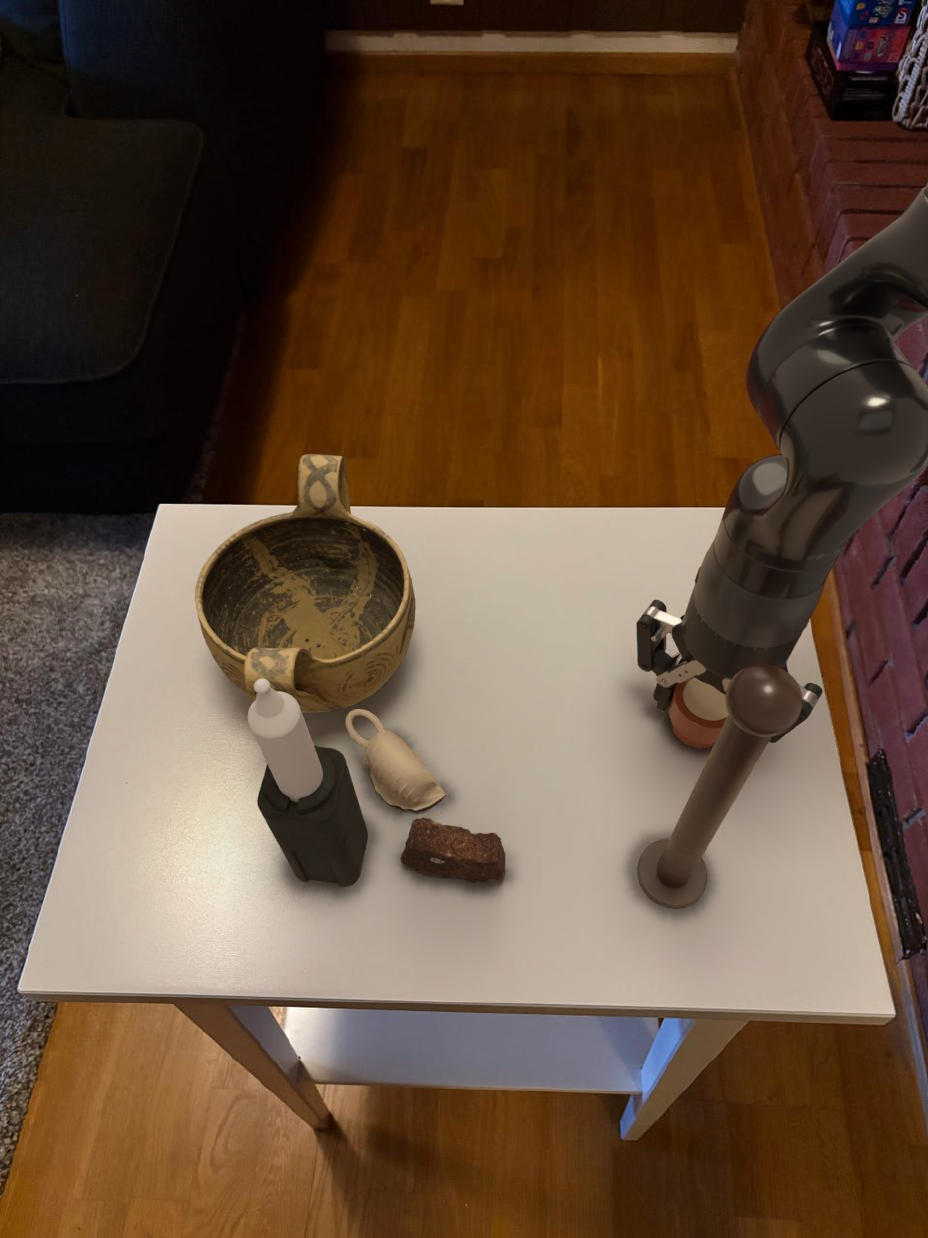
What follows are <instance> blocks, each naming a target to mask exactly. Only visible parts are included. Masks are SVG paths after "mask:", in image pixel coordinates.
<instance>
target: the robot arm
mask: <svg viewBox="0 0 928 1238" xmlns="http://www.w3.org/2000/svg"><path fill="white" fill-rule="evenodd" d="M926 317H928V181H927V182H926V183H925V186H924V187H923V188H921V189H920V191H919V192H918V193H917V194H916V196H915V197H914V198H913V199H912V201H911V202H910V203H909V205H908V206H907V207H906V208H905V210H904V211H903V212H902V213H901V214H900V215H899V216H897V217H896V218H895V219H894V220H892V222H890V223H889V224H888V225H886V226H885V227H884V228H882V229H881V230H880V231H879V232H877V233H876V234H875V235H873V236H872V237H871V238H869V239H868V240H866V241H865V242H864V243H863V244H861V245H860V246H859V247H857V248H856V249H855V250H853V251H852V252H851V253H849V255H847V256H846V257H845V258H844V259H843V260H842V261H840V262H839V263H838V264H837V265H835V266H834V267H833V268H832V269H830V270H829V271H828V272H826V273H825V274H824V275H823V276H821V277H820V278H819V279H817V280H816V281H815V282H814V283H812V284H811V285H810V286H809V287H807V288H806V289H805V290H804V291H802V292H801V293H800V294H799V295H797V296H796V297H795V298H793V299H792V300H791V301H790V302H789V303H788V304H786V306H784V307H783V308H782V309H781V310H780V311H779V312H778V313H777V314H776V315H775V316H774V317H773V318H772V320H771V321H770V322H769V323H768V324H767V326H766V327H765V329H764V330H763V331H762V333H761V334H760V337H759V338H758V340H757V341H756V343H755V345H754V348H753V350H752V352H751V355H750V357H749V361H748V364H747V367H746V373H745V389H746V393H747V396H748V399H749V401H750V404H751V406H752V407H753V409H754V411H755V413H756V414H757V416H758V418H759V420H760V421H761V424H763V426H764V428H765V429H766V431H767V433H768V435H769V436H770V438H771V441H772V442H773V443H774V445H775V447H776V449H777V450H778V452H779V453H777V454H772V455H768V456H765V457H762V458H760V459H758V460H756V461H755V462H753V463H752V464H751V465H749V466H748V467H747V468H746V469H745V470H744V471H743V472H742V473H741V474H740V476H738V478H737V480H736V481H735V484H734V486H733V488H732V490H731V492H730V495H729V496H728V499H727V501H726V505H725V508H724V511H723V514H722V517H721V520H720V523H719V525H718V528H717V530H716V533H715V537H714V539H713V540H712V542H711V544H710V546H709V547H708V549H707V551H706V553H705V555H704V557H703V559H702V562H701V565H700V566H699V567H698V570H697V572H696V575H695V579H694V586H693V589H692V592H691V595H690V597H689V600H688V604H687V606H686V610H685V612H684V614H683V615H681V616H680V617H678V616H676V615H674V614H671V613H668V612H667V611H668V609H667V605H666V604H665V603H664V602H663V601H661V600H660V599H654V600H652V601H651V603H650V604H649V606H647V608H646V609H645V610H644V612H643V613H642V614H641V616H640V617H639V618H638V620H637V621H636V625H635V628H636V657H637V659H636V660H637V666H638V668H639V669H640V670H642V671H643V672H646V673H650V672H652V673H654V674H655V676H656V678H655V681H656V684H655V689H654V691H653V693H652V697H653V700H654V701H655V702H657V706H656V709H658V710H660V711H661V712H663V713H665V712H666V711H667V710H668V709H669V702H670V699H671V697H672V694H673V691H674V688H675V686H676V683H677V682H678V683H679V684H681V683H683V682H685V681H687V680H688V679H690V678H692V677H694V678H696V679H698V680H700V681H701V682H704V683H706V684H709V685H711V686H713V687H714V688H716V689H717V690H718V691H720V692H721V693H723V694H724V695H726V691H727V688H728V685H729V683H730V681H731V680H732V678H733V677H734V676H735V675H736V674H737V673H738V672H739V671H741V670H742V669H744V668H746V667H748V666H751V665H755V664H770V665H775V666H777V667H780V668H782V669H784V670H785V671H787V672H788V673H789V669H788V665H787V661H788V660H789V658H790V656H791V654H792V653H793V651H794V649H795V647H796V645H797V643H798V642H799V640H800V638H801V636H802V634H803V632H804V631H805V630H806V628H807V627H808V625H809V622H810V620H811V618H812V616H813V614H814V612H815V611H816V609H817V607H818V604H819V603H820V600H821V598H822V595H823V592H824V589H825V585H826V582H827V579H828V577H829V575H830V573H831V571H832V570H833V567H834V566H835V564H836V562H837V560H838V558H839V556H840V554H841V552H842V551H843V549H844V547H845V545H846V543H847V541H849V539H850V538H851V537H852V536H854V535H855V533H856V532H858V531H859V530H860V529H861V528H862V527H863V526H864V525H866V524H867V523H868V522H869V521H870V520H871V519H872V518H873V517H874V516H875V515H876V514H877V513H878V512H879V511H880V510H881V509H882V508H883V507H884V506H886V505H887V504H888V503H890V502H891V500H893V499H894V498H896V496H898V495H899V494H900V493H901V492H903V491H904V490H905V489H907V488H908V487H909V486H910V485H911V484H913V482H915V481H916V479H918V478H919V477H920V475H921V474H923V472H924V471H925V470H926V468H927V467H928V384H927V382H925V380H924V379H923V377H921V375H920V374H919V372H917V370H916V369H915V368H914V366H913V365H912V363H911V362H910V361H909V360H908V359H907V357H906V356H905V354H904V353H903V352H902V350H901V349H900V348H899V347H898V345H897V344H896V343H895V342H896V341H897V340H898V339H899V337H900V336H901V335H902V334H903V333H904V332H905V331H906V330H907V329H909V328H910V327H911V326H914V325H915V324H916V323H918V322H919V321H921V320H922V319H923V320H924V318H926ZM668 634H671V638H672V641H673V642H674V644H675V646H676V648H677V650H678V652H676V653H675V654H673V655H672V656H671V655H670V654H669V653H668V652H666V650H667V636H668ZM798 685H799V687H800V690H801V693H802V709H801V713H800V715H799V717H798V719H797V721H796V722H795V723H794V725H793V726H792V727H791V728H789V729H788V730H787V731H785V732H783V733H781V734H778V735H776V736H772V738H771V739H770V741H769V744H776V743H777V742H779V741H780V740H781V739H783V738H784V737H785V736H786V735H788V734H789V733H790V732H792V731H793V730H794V729H796V728H797V727H798V726H800V725H801V724H802V723H803V722H805V721H806V720H807V719H808V718H809V717H810V715H811V713H812V712H813V710H814V709H815V707H816V705H817V704H818V701H819V699H820V698H821V696H822V694H823V693H824V691H823V688H822V687H821V686H819V685H818V684H817V683H814V682H807V683H805V685H801V684H799V683H798Z"/></svg>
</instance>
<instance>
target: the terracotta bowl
mask: <svg viewBox="0 0 928 1238" xmlns="http://www.w3.org/2000/svg"><path fill="white" fill-rule="evenodd" d="M725 700H726V695H724V694H723V693H721V692H720V691H718V690H717V689H716V688H714V687H713V686H711V685H709V684H706V683H704V682H701V681H700V680H698V679H696V678H694V677H692V678H690V679H688V680H687V681H685V682H683V683H681V684H679V683H678V682H677V683H676V686H675V688H674V691H673V694H672V697H671V699H670V702H669V706H668V708H667V710H668V716H669V719H670V722H671V724H670V725H671V729H672V732H673V733H674V735H675V736H676V738H677V739H678V740H679V741H680V742H682V743H683V744H685V745H687V746H689V747H690V748H691V747H692V748H696V749H706V748H710V747H713V746H714V744H715V742H716V740H717V738H718V735H719V733H720V731H721V729H722V727H723V725H724V723H725V721H726V719H727V716H728V711H727V708H726V702H725Z"/></svg>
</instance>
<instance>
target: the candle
mask: <svg viewBox="0 0 928 1238" xmlns="http://www.w3.org/2000/svg"><path fill="white" fill-rule="evenodd" d="M254 690H255V691H256V692H257V696H256V700H254V701H253V702H252V703H251V705H250V707H249V708H248V713H247V724H248V726H249V728H250V731H251V732H252V735H253V736H254V739H255V741H256V743H257V745H258V747H259V749H260V752H261V754H262V755H263V758H264V759H265V762H266V768H265V771H264V774H263V777H262V780H261V784H260V788H259V790H258V793H257V799H256V804H257V807H258V810H259V811H260V813H261V815H262V817H263V819H264V821H265V822H266V824H267V827H268V828H269V830H270V832H271V834H272V835H273V837H274V839H275V841H276V842H277V844H278V846H279V848H280V850H281V852H282V854H283V855H284V857H285V859H286V861H287V862H288V864H289V867H290V868H291V870H292V873H294V875H295V877H296V878H297V879H298V880H300V881H301V882H304V883H308V882H309V881H315V882H321V883H322V882H323V883H329V884H330V883H331V884H337V885H338V886H339V887H342V888H345V887H350V886H352V885H353V884H355V883H356V882H357V881H358V879H359V878H360V876H361V872H362V867H363V862H364V858H365V852H366V850H367V849H366V848H367V844H368V838H369V832H368V829H367V825H366V822H365V818H364V815H363V811H362V808H361V806H360V802H359V798H358V796H357V793H356V788H355V786H354V782H353V780H352V779H353V778H352V776H351V772H350V769H349V766H348V762H347V760H346V758H345V755H344V754H343V752H341V751H340V750H339V749H336V748H332V747H326V746H318V745H315V744H314V742H313V739H312V736H311V734H310V731H309V729H308V726H307V723H306V720H305V717H304V715H303V712H301V709H300V706H299V704H298V702H297V701H296V700H295V699H294V698H293V697H292V696H291V695H289V694H287V693H285V692H281V691H275V690H273V689H272V688H271V687H270V683H269V681H268V680H266V679H264V678H262V679H258V680H257V681H256V682H255V684H254Z"/></svg>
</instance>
